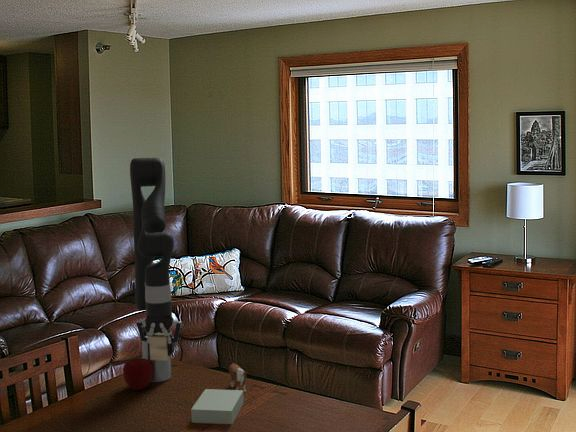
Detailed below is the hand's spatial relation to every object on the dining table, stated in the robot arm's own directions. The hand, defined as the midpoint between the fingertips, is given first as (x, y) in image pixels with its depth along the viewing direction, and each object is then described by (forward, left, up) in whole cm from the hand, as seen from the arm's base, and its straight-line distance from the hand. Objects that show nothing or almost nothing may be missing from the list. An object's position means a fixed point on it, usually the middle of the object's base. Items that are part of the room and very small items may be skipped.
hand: (161, 354), depth 220 cm
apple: (-17, -14, -18) cm, 28 cm away
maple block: (0, 0, -1) cm, 1 cm away
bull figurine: (-19, +19, -18) cm, 32 cm away
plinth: (0, +17, -17) cm, 24 cm away
